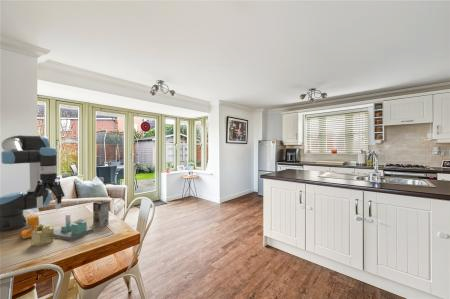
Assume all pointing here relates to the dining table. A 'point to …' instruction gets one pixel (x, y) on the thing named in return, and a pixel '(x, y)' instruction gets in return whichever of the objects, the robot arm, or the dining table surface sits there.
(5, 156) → the robot arm
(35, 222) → the bracket
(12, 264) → the dining table surface
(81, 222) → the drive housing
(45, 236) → the sleeve
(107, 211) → the coffee box
